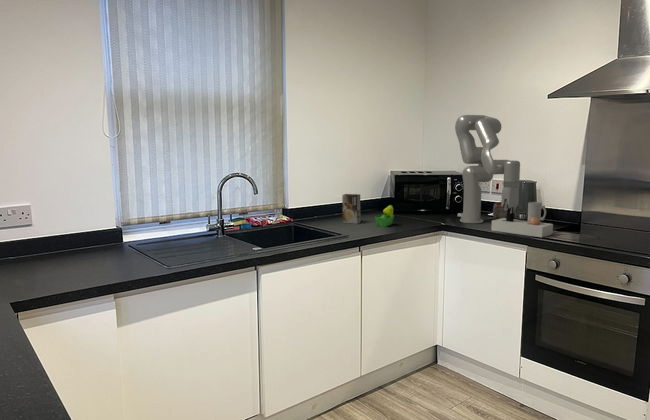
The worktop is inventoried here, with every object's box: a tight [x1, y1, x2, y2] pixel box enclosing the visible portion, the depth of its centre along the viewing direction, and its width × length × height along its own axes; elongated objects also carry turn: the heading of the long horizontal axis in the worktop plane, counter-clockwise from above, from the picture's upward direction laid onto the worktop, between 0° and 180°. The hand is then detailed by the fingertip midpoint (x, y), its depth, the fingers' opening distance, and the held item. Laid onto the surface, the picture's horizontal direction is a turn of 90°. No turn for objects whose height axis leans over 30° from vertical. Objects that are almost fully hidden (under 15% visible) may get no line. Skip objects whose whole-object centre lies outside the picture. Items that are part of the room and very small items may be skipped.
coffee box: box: [341, 193, 361, 225], centre depth 278 cm, size 9×6×16 cm
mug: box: [527, 201, 547, 221], centre depth 267 cm, size 10×7×12 cm, turn 37°
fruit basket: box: [374, 204, 395, 228], centre depth 269 cm, size 11×9×11 cm
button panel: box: [490, 218, 554, 238], centre depth 247 cm, size 26×12×5 cm, turn 43°
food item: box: [492, 201, 506, 220], centre depth 290 cm, size 14×8×10 cm, turn 168°
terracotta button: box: [529, 217, 541, 225], centre depth 242 cm, size 5×5×5 cm
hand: (509, 220), depth 252 cm, fingers closed
